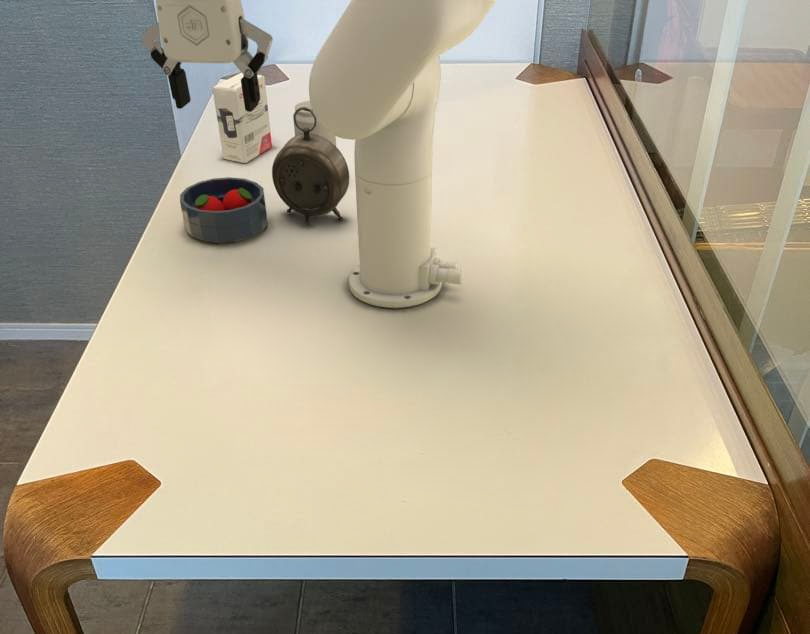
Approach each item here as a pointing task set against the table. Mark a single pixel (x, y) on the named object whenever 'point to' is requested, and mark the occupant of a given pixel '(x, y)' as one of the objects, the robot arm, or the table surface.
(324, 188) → the alarm clock
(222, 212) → the bowl
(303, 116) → the beverage can
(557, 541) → the table surface
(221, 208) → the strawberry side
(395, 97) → the robot arm
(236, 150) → the ink box
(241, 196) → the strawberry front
